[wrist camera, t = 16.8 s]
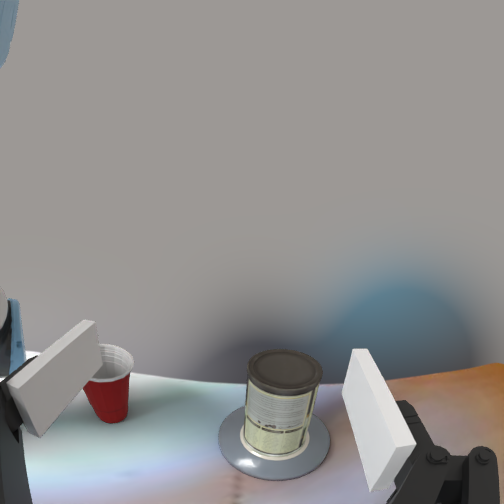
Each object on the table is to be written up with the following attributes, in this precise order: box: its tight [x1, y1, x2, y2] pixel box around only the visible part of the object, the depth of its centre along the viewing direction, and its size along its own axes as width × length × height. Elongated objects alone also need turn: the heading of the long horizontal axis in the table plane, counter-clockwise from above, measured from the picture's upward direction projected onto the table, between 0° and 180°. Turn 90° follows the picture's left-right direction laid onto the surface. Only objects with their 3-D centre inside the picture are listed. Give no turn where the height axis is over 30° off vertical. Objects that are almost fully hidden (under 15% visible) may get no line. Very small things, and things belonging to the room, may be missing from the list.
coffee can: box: [243, 349, 323, 457], centre depth 40 cm, size 10×10×14 cm
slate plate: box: [219, 406, 330, 481], centre depth 42 cm, size 18×18×1 cm
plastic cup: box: [83, 344, 134, 423], centre depth 42 cm, size 11×11×12 cm
